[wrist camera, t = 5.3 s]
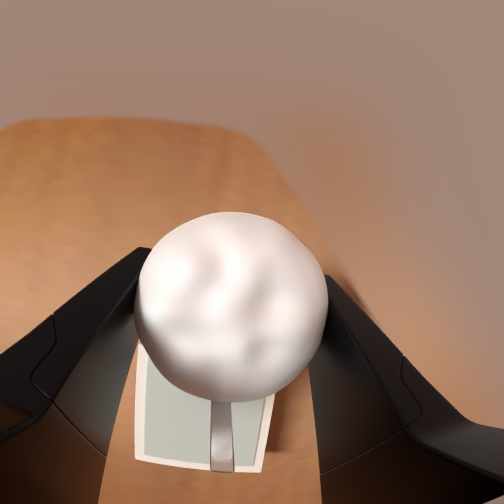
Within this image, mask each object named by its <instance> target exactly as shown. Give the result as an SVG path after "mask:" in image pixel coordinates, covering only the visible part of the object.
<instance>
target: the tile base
mask: <svg viewBox="0 0 504 504" xmlns="http://www.w3.org/2000/svg"><path fill="white" fill-rule="evenodd" d="M274 397H275V393H274V394H272V395H270V396H268V397H265V398H262V399H258V400H254V401H248V402H237V403H231V412H232V431H233V448H234V465H235V470H234V472H261V468H262V463H263V458H264V453H265V447H266V442H267V437H268V431H269V426H270V420H271V415H272V409H273V403H274ZM210 422H211V400H207V399H203V398H199V397H196V396H194V395H191V394H189V393H186V392H184V391H182V390H180V389H179V388H177V387H176V386H174V385H173V384H171V383H170V382H169V381H168V380H167V379H165V378H164V377H163V375H162V374H161V373H160V372H159V371H158V369H157V368H156V367H155V365H154V364H153V362H152V361H151V359H150V357H149V355H148V354H147V352H146V350H145V348H144V347H143V345H142V343H141V342H140V343H139V346H138V359H137V374H136V395H135V459H138V460H142V461H147V462H153V463H158V464H164V465H170V466H177V467H184V468H193V469H202V470H211V469H210Z"/></svg>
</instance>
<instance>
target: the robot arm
mask: <svg viewBox="0 0 504 504" xmlns="http://www.w3.org/2000/svg"><path fill="white" fill-rule="evenodd" d="M151 251H152V249H151V248H144V247H138V248H136V249H135V250H134V251H132V252H131V253H130V254H128V255H127V256H125V257H124V258H123V259H121V260H120V261H119V262H117V263H116V264H115V265H113V266H112V267H111V268H109V269H108V270H107V271H105V272H104V273H103V274H101V275H100V276H99V277H97V278H96V279H95V280H94V281H92V282H91V283H90V284H88V285H87V286H86V287H85V288H83V289H82V290H81V291H80V292H78V293H77V294H76V295H75V296H73V297H72V298H71V299H70V300H68V301H67V302H66V303H65V304H63V305H62V306H61V307H60V308H59V309H57V310H56V311H55V312H54V313H53V315H50V316H49V317H48V318H46V319H45V320H44V321H43V322H42V323H40V324H39V325H38V326H37V327H36V328H34V329H33V330H32V331H31V332H29V333H28V334H27V335H26V336H24V337H23V338H22V339H20V340H19V341H18V342H16V343H15V344H14V345H12V346H11V347H10V348H8V349H7V350H5V351H4V352H3V353H1V354H0V504H98V500H99V494H100V488H101V483H102V478H103V473H104V468H105V463H106V457H107V453H108V449H109V444H110V440H111V436H112V431H113V427H114V423H115V419H116V415H117V411H118V408H119V404H120V400H121V396H122V393H123V389H124V386H125V382H126V379H127V375H128V372H129V368H130V365H131V362H132V359H133V355H134V352H135V349H136V346H137V343H138V339H139V336H138V334H137V331H136V327H135V322H134V301H135V295H136V289H137V284H138V280H139V276H140V273H141V270H142V267H143V265H144V263H145V261H146V259H147V257H148V255H149V254H150V252H151ZM324 277H325V281H326V285H327V292H328V312H327V318H326V323H325V328H324V332H323V336H322V339H321V343H320V345H319V348H318V350H317V352H316V354H315V356H314V357H313V359H312V360H311V362H310V363H309V364H308V368H309V376H310V384H311V392H312V401H313V410H314V419H315V428H316V437H317V448H318V458H319V469H320V483H321V496H322V504H504V429H500V428H494V427H490V426H485V425H480V424H477V423H474V422H472V421H470V420H468V419H467V418H465V417H464V416H463V415H461V414H460V413H459V412H458V411H457V410H456V409H455V408H454V407H453V406H452V405H451V404H450V403H449V402H448V401H447V400H446V399H445V398H444V397H443V396H442V395H441V394H440V393H439V392H438V391H437V390H436V389H435V388H434V387H433V386H432V385H431V384H430V383H429V382H428V381H427V380H426V379H425V378H424V377H423V376H422V375H421V374H420V372H419V371H418V370H417V369H416V368H415V367H414V366H413V365H412V364H411V363H410V361H409V360H408V359H407V358H406V357H405V356H403V354H402V353H401V352H400V350H399V349H398V348H397V347H396V346H395V345H394V344H393V343H392V342H391V340H390V339H389V338H388V337H387V336H386V335H385V334H384V333H383V332H382V331H381V330H380V328H379V327H378V326H377V325H376V324H375V323H374V322H373V321H372V320H371V319H370V318H369V317H368V316H367V314H366V313H365V312H364V311H363V310H362V309H361V308H360V307H359V306H358V305H357V304H356V303H355V302H354V301H353V300H352V298H351V297H350V296H349V295H348V294H347V293H346V292H345V291H344V290H343V289H342V288H341V287H340V286H339V285H338V284H337V283H336V282H335V281H334V280H333V279H332V278H331V277H330V276H329V275H326V274H324Z"/></svg>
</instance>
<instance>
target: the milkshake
mask: <svg viewBox="0 0 504 504" xmlns="http://www.w3.org/2000/svg"><path fill="white" fill-rule="evenodd" d="M327 312H328V292H327V285H326V281H325V277H324V274H323V271H322V269H321V267H320V265H319V263H318V261H317V260H316V258H315V257H314V256H313V254H312V253H311V252H310V251H309V250H308V249H307V248H306V247H305V246H304V245H303V244H302V243H301V242H300V241H299V240H298V239H297V238H296V237H295V236H294V235H293V234H292V233H291V232H290V231H288V230H287V229H286V228H285V227H283V226H282V225H280V224H279V223H277V222H275V221H273V220H270V219H267V218H264V217H261V216H257V215H253V214H248V213H241V212H220V213H213V214H208V215H205V216H201V217H198V218H196V219H193V220H191V221H189V222H187V223H184V224H182V225H181V226H179V227H177V228H175V229H174V230H172V231H171V232H169V233H168V234H167V235H166V236H164V237H163V238H162V239H161V240H160V241H159V242H158V243H157V244H156V245H155V247H154V248H153V249H152V251H151V252H150V254H149V255H148V257H147V259H146V261H145V263H144V265H143V267H142V270H141V273H140V276H139V280H138V284H137V289H136V295H135V301H134V322H135V327H136V331H137V334H138V336H139V339H140V341H141V343H142V345H143V347H144V348H145V350H146V352H147V354H148V355H149V357H150V359H151V361H152V362H153V364H154V365H155V367H156V368H157V369H158V371H159V372H160V373H161V374H162V375H163V377H164V378H165V379H167V380H168V381H169V382H170V383H171V384H173V385H174V386H176V387H177V388H179V389H180V390H182V391H184V392H186V393H189V394H191V395H194V396H196V397H199V398H203V399H207V400H211V422H210V469H211V471H213V472H223V473H233V472H234V470H235V465H234V448H233V431H232V412H231V403H237V402H248V401H254V400H258V399H262V398H265V397H268V396H270V395H272V394H274V393H276V392H278V391H280V390H281V389H283V388H284V387H286V386H287V385H288V384H289V383H291V382H292V381H293V380H294V379H295V378H296V377H297V376H298V375H299V374H300V373H301V372H302V371H303V370H304V369H305V368H306V367H307V366H308V364H309V363H310V362H311V360H312V359H313V357H314V356H315V354H316V352H317V350H318V348H319V345H320V343H321V339H322V336H323V332H324V328H325V323H326V318H327Z"/></svg>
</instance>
